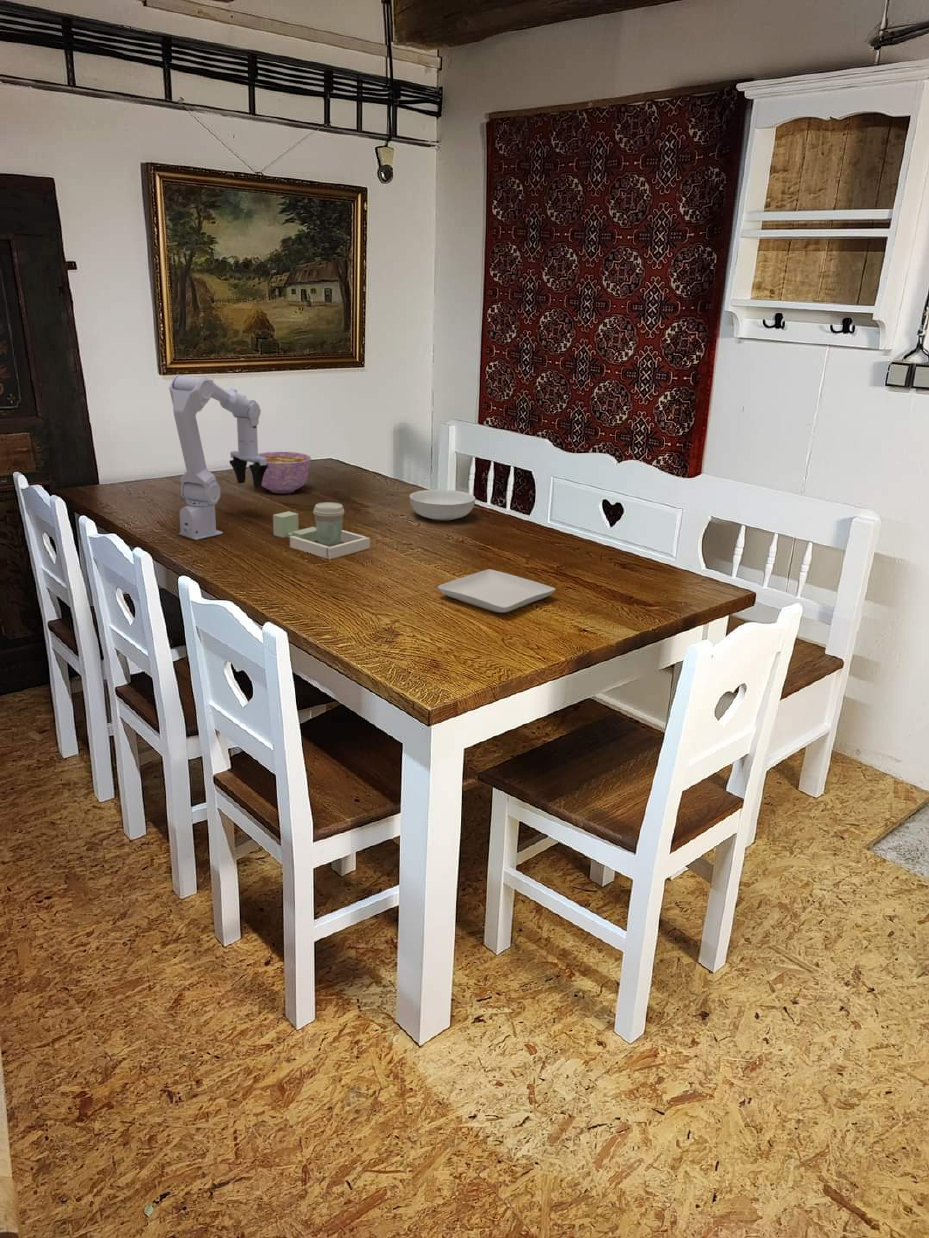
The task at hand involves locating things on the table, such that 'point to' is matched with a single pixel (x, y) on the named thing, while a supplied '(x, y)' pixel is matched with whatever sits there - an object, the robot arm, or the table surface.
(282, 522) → the square dumbbell
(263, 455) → the bowl of food
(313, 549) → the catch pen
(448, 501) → the serving bowl
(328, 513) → the coffee cup
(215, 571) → the table surface
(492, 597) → the salad plate
